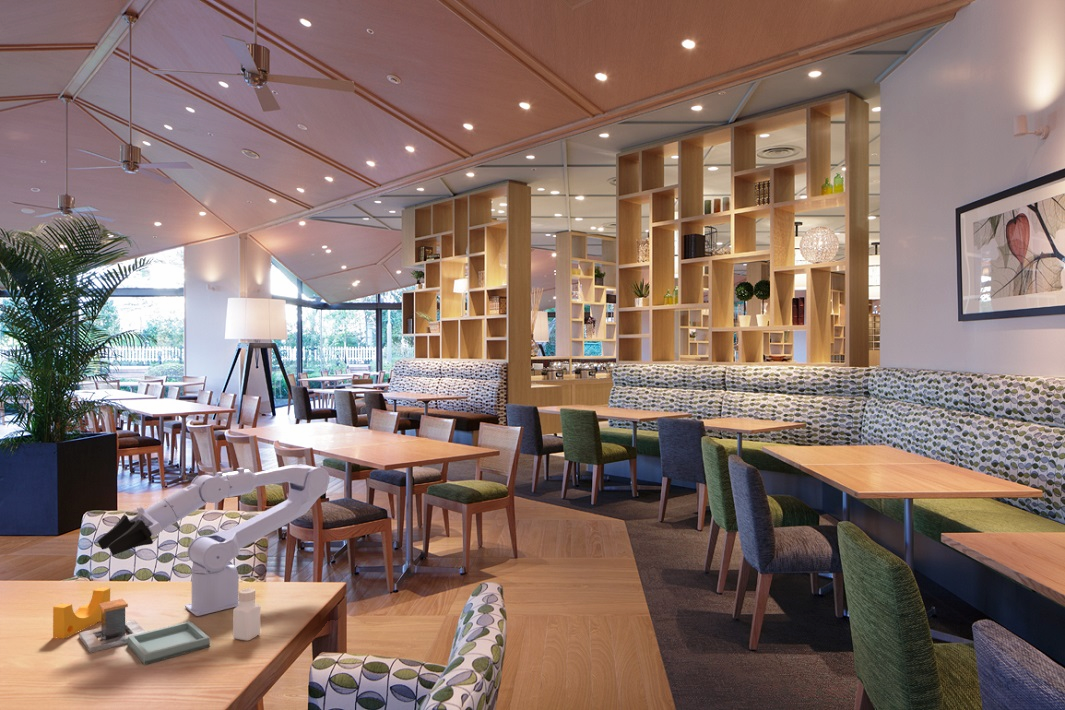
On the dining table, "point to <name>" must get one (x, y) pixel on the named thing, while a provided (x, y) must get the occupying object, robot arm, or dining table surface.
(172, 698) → the dining table surface
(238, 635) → the pepper shaker
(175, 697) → the dining table surface
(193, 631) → the tray
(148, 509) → the robot arm
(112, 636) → the pin
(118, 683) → the dining table surface
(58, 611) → the pipe clamp
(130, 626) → the socket
